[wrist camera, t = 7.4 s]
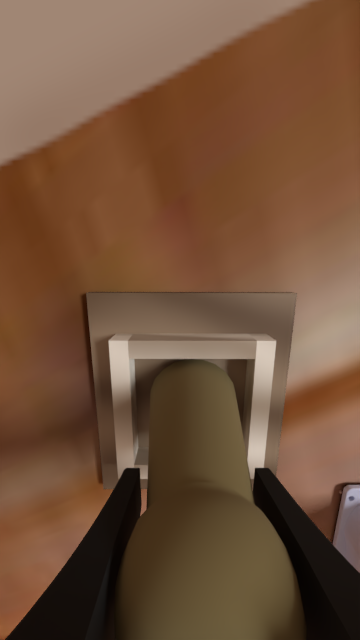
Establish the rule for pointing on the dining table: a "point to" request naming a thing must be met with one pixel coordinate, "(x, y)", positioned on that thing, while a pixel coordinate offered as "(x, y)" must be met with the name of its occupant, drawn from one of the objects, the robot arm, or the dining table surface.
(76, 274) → the dining table surface
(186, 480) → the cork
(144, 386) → the collar board
